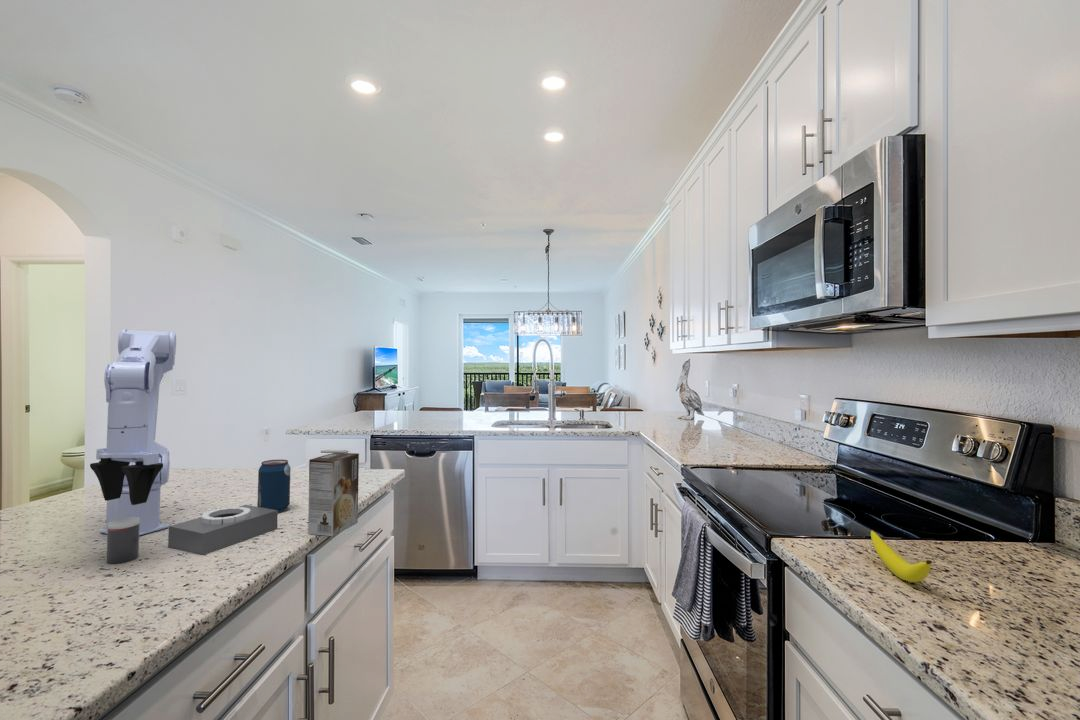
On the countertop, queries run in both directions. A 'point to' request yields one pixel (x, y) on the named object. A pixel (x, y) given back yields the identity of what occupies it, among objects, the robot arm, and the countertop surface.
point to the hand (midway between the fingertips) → (125, 501)
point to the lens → (123, 540)
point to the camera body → (221, 528)
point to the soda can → (274, 485)
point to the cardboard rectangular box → (333, 493)
